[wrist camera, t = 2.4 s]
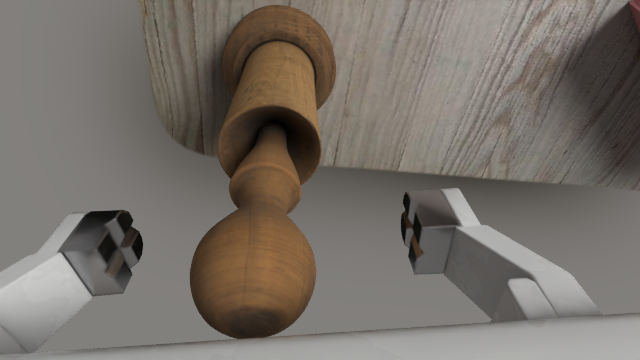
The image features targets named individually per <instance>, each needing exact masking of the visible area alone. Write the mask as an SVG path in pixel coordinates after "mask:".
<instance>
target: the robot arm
mask: <svg viewBox="0 0 640 360" xmlns="http://www.w3.org/2000/svg"><path fill="white" fill-rule="evenodd" d="M403 204H404V207H405V212H403V213H402V216H401V232H402V237H403V240H404V244H405V245H406V246H407V247H408V248H409V256H408V257H409V259H410V263H411V265H412V269H413V271H414V274H437V273H438V274H440V273H444V275H445V276H446V277H447V278H448V279H449V280H450V281H451V282H452V283H454V284H455V285H456V286H457V287H458V288H459V289H460V290H461V291H462V292H463V293H464V294H465V295H466V296H468V297H469V298H470V299H471V300H472V301H473V302H474V303H475V304H476V305H477V306H478V307H479V308H480V309H482V310H483V311H484V312H485V313H486V314H487V315H488V316H489V317H490V318H491V319H492V320H491V322H489V323H474V324H459V325H444V326H429V327H414V328H399V329H384V330H368V331H355V332H354V331H353V332H339V333H323V334H308V335H293V336H278V337H263V338H248V339H233V340H217V341H202V342H187V343H172V344H156V345H141V346H126V347H111V348H96V349H82V350H66V351H52V352H37V353H34V352H35V351H36V350H37V349H38V348H39V347H40V346H41V345H42V344H43V343H44V342H46V341H47V340H48V339H49V338H50V337H51V336H52V335H53V334H54V333H55V332H56V331H57V330H58V329H60V328H61V327H62V326H63V325H64V324H65V323H66V322H67V321H68V320H70V319H71V318H72V317H73V316H74V315H75V314H76V313H77V312H78V311H79V310H80V309H81V308H82V307H84V306H85V305H86V304H87V303H88V302H89V301H90V300H91V299H92V298H93V297H92V296H101V295H112V294H123V292H124V290H125V288H126V286H127V284H128V282H129V280H130V278H131V276H132V272H131V270H130V268H132V267H133V266H134V265H135V264H137V263H138V262H139V260H140V257H141V255H142V249H143V242H142V237H141V235H140V233H139V231H138V230H136V229H135V228H133V227H132V226H131V225H132V222H133V219H132V217H131V215H130V213H129V212H128V211H125V210H116V211H91V212H76V213H72V214H69V215H67V217H66V218H65V219H64V220H63V221H62V223H61V224H60V225H59V226H58V228H57V229H56V230H55V231H54V233H53V234H52V235H51V236H50V238H48V240H47V241H46V242H45V243H44V245H43V246H42V247H41V248H40V250H39V251H38V252H37V253H36V254H30V255H28V256H27V257H25V258H23V259H22V260H20V261H18V262H17V263H15V264H13V265H11V266H10V267H8V268H6V269H5V270H3V271H2V272H0V360H640V313H626V314H612V315H602V314H601V312H600V311H599V310H598V308H597V307H596V306H595V305H594V303H593V302H592V301H591V299H590V298H589V297H588V295H587V294H586V293H585V291H584V290H583V289H582V288H581V286H580V285H579V284H578V282H577V281H576V280H575V279H574V277H573V276H572V275H571V274H570V273H569V272H567V271H565V270H563V269H562V268H560V267H558V266H556V265H555V264H553V263H551V262H549V261H548V260H546V259H544V258H543V257H541V256H539V255H537V254H536V253H534V252H532V251H531V250H529V249H527V248H525V247H523V246H522V245H520V244H518V243H517V242H515V241H513V240H511V239H510V238H508V237H506V236H505V235H503V234H501V233H499V232H498V231H496V230H494V229H492V228H491V227H489V226H487V225H481V224H480V223H479V221H478V219H477V218H476V216H475V214H474V213H473V211H472V210H471V208H470V206H469V205H468V203H467V201H466V200H465V198H464V196H463V195H462V193H461V192H460V190H459V189H457V188H450V189H440V190H430V191H415V192H405V195H404V199H403Z"/></svg>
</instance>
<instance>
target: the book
mask: <svg viewBox="0 0 640 360" xmlns="http://www.w3.org/2000/svg"><path fill="white" fill-rule="evenodd" d="M629 5H630V8H631V11H632V13H633V16H634V19H635V22H636V25H637V28H638V31H639V33H640V0H631V1H630V2H629ZM639 59H640V56H639Z"/></svg>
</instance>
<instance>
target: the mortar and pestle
mask: <svg viewBox="0 0 640 360" xmlns="http://www.w3.org/2000/svg"><path fill="white" fill-rule="evenodd" d="M222 72H223V77H224V81H225V84H226V86H227V88H228V90H229V92H230V94H231V95H232V97H233V100H232V103H231V105H230V108H229V111H228V113H227V116H226V118H225V121H224V123H223V126H222V128H221V131H220V134H219V137H218V143H217V152H218V158H219V161H220V164H221V166H222V168H223V169H224V171H225V173H226V174H227V175H228V176H229V177H230V179H231V181H230V184H229V192H230V196H231V199H232V201H233V202H234V204H235V205H236V206H237V207H238V208H239V209H238V210H236V211H234V212H233V213H231V214H230V215H228V216H227V217H225V218H224V219H223V220H221V221H220V222H218V223H217V224H216V225H215V226H213V227H212V228H211V229H210V230H209V231H208V232H207V233H206V235H205V236H204V237H203V238H202V240H201V241H200V243H199V245H198V246H197V249H196V251H195V253H194V256H193V260H192V264H191V269H190V286H191V292H192V297H193V300H194V303H195V305H196V307H197V309H198V311H199V313H200V314H201V316H202V317H203V319H204V320H205V321H206V322H207V323H208V324H209V325H210V326H211V327H213V328H214V329H215V330H217V331H219V332H221V333H222V334H225V335H228V336H230V337H233V338H237V339H248V338H263V337H268V336H272V335H274V334H277V333H279V332H281V331H283V330H285V329H286V328H288V327H289V326H290V325H291V324H293V323H294V322H295V321H296V320H297V319H298V318H299V317H300V315H301V314H302V313H303V311H304V310H305V308H306V306H307V305H308V303H309V301H310V299H311V296H312V293H313V289H314V286H315V279H316V266H315V259H314V255H313V251H312V249H311V247H310V245H309V243H308V241H307V239H306V238H305V236H304V235H303V233H302V232H301V231H300V229H299V228H298V227H297V226H296V225H295V223H294V222H293V221H292V220H291V219H290V218H289V217H288V216H287V214H288V213H290V212H291V211H292V210H293V209H294V208H295V207H296V206H297V204H298V203H299V201H300V198H301V185H302V184H304V183H305V182H306V181H308V179H310V178H311V177H312V175H313V174H314V172H315V171H316V169H317V167H318V165H319V162H320V158H321V139H320V132H319V124H318V116H317V110H318V109H319V108H320V107H321V106H322V105H323V104H324V103H325V101H326V100H327V98H328V97H329V95H330V93H331V91H332V89H333V86H334V82H335V77H336V63H335V57H334V52H333V48H332V45H331V42H330V39H329V37H328V35H327V34H326V32H325V30H324V29H323V28H322V27H321V25H320V24H319V23H318V22H317V21H316V20H315V19H313V18H312V17H311V16H309V15H308V14H306V13H304V12H302V11H300V10H298V9H295V8H292V7H289V6H282V5H271V6H265V7H262V8H259V9H256V10H254V11H252V12H251V13H249V14H248V15H246V16H245V17H244V18H243V19H242V20H241V21H240V22H239V23H238V24H237V25H236V27H235V28H234V30H233V31H232V33H231V35H230V37H229V39H228V41H227V43H226V45H225V48H224V52H223V57H222Z"/></svg>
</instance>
